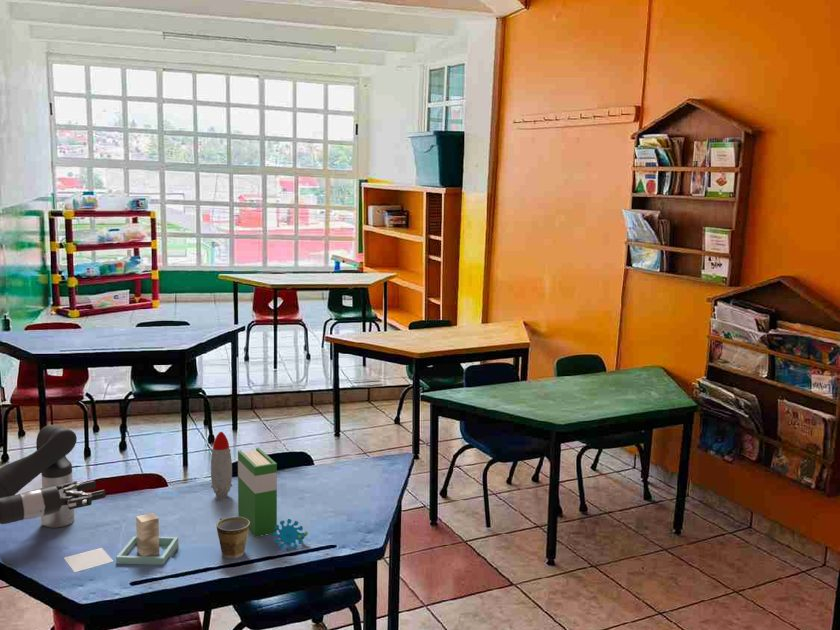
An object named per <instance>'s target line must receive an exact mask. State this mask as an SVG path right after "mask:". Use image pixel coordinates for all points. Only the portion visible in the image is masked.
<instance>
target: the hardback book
mask: <svg viewBox="0 0 840 630" xmlns="http://www.w3.org/2000/svg"><path fill="white" fill-rule="evenodd" d="M277 468H278V463H277V462H276V461H274V460H273V459H272V458H271V457H270V456H269V455H268V454H267V453H266V452H264V451H263V450H262V448H260V447H256V448H255V450H251V451H244V452H243V451H242V450H238V451H237V489H238V492H237V498H238V499H237V501H238V502H237V503H238V504H237V506H238V507H237V508H238V512H237V513H238V516H237V517H243V518H246V519H248V520H249V522H250V525H249V532H250V531H251V532H252V533H251V532H250V533H251V534H252V535H253V537H254V538H258V537H257V536H259V537H262V536H261V535H263V536H267V535H266V534H268V535H271V534H270V533H274V531H275V532H277V531H278V530H276V529H275V526H276V525H278V522H277V521H278V520H277V519H278V515H277V514H278V511H277V510H278V504H277V503H278V502H277V501H278V500H277V499H278V488H277V487H278V483H277V482H278V479H277V478H278V473H277V472H278V469H277ZM277 533H278V532H277Z"/></svg>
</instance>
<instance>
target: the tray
mask: <svg viewBox="0 0 840 630" xmlns="http://www.w3.org/2000/svg"><path fill="white" fill-rule="evenodd" d="M135 545H137V535H133V536H132V538H131V539H129V541H128V542H127V543H126V545H125V546H124V547H123V548H122V549H121V551H120V552H119V553H118V554H116V555H117V556H115V564H116V565H117V564H118V565H153V566H155V565H157V566H158V565H163V566H164V565H165V563H166V562H167V560H168V559H169V558H172V557H174V555H175V554H176V552H177V550H178V549H179V536H159V548H161V549H162V550H163V553H162V555H161V556H157V555H154V556H140V555H128V554H129V553H130V552H131V550H132V549H133V548H134V547H135Z"/></svg>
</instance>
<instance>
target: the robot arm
mask: <svg viewBox="0 0 840 630" xmlns="http://www.w3.org/2000/svg"><path fill="white" fill-rule="evenodd" d="M77 437H78V436H77V434H76V432H74V431H73V430H72V429H69V428H66V427H63V426H59V425H56V424H48V425H45V426H43V427H42V428H41V429H40V430H39V432H38V433H37V436H36V442H35V445H36V450H35V451H34V452H33V453H30V454H29V455H27V456H24V457H22V458H20V459H17V460H15V461H12V462H9V463H8V464H6V465H3V466H2V467H0V525H6V524H11V523H16V522H19V521H24V520H31V519H36V518H40V526H45V527H47V528H52V529H53V528H54V529H55V528H62V527H66V526H68V525H71V524H72V523H74V522H75V509H80V508H84V507H88V506H91V505H92V502H93V501H97V500H101V499H105V498H106V490H105V489H101V490H97V491H93V492H85V491H89V490H94V489H96V488H97V482H96V480H90V481H87V482H78V481H76V480H74V481H73V466H72V465H73V464H72V462H71V461H70V460H69V459H68V458H67V455H69V454H70V452H72V450H73V449H74V448H75V446H76V444H77V439H78V438H77ZM39 475H41V488H37V489H32V490H28V491H25V492H21V493H19V492H20V491H21V490H22V489H23V488H24V487H26V486H27V485H28V484H29V483H31V482H32V481H33V480H34V479H36V478H37V477H38V476H39ZM18 493H19V494H18Z"/></svg>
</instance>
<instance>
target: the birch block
mask: <svg viewBox="0 0 840 630" xmlns="http://www.w3.org/2000/svg"><path fill="white" fill-rule="evenodd" d="M135 520H136V521H135V522H136V536H137V544H136V552H137V554H138V556H157V555H160V546H159V537H160V527H159V520H160V519H159V517H158V516H157V515H156V514H155V513H154V512H149V513H146V514H141V515H137V516H135Z"/></svg>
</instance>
